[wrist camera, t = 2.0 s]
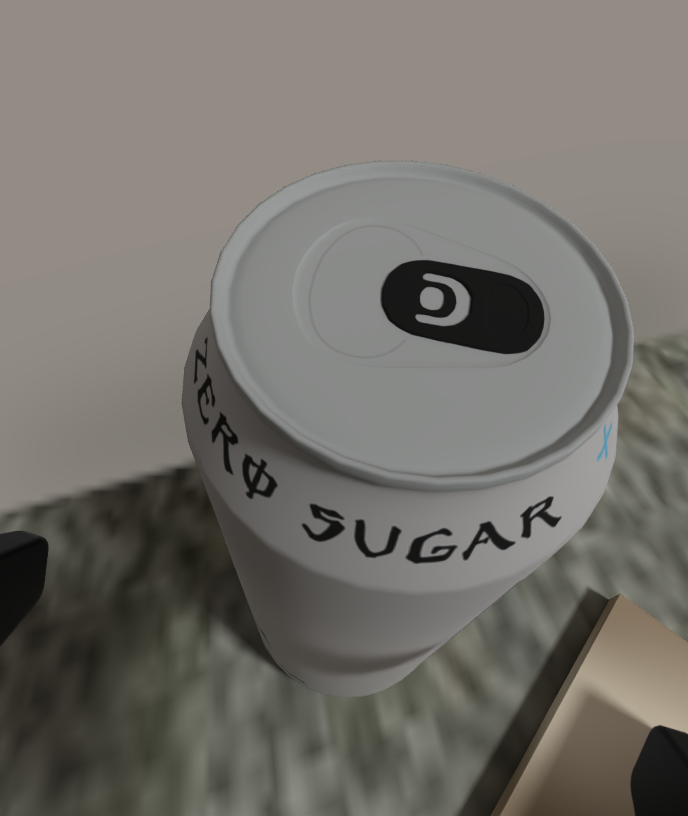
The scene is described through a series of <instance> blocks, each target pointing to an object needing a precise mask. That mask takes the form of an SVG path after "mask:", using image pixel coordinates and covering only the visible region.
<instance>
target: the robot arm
mask: <svg viewBox="0 0 688 816" xmlns="http://www.w3.org/2000/svg"><path fill="white" fill-rule="evenodd" d="M47 558H48V542H47V540H46V539H45V538H44V537H41V536H38V535H35V534H32V533H28V532H25V531H14V532H9V533H3V534H0V646H1V645H2V644H3V643H4V641H5V640H6V639H7V638H8V637H9V635H10V634H11V633H12V632H13V631H14V629H15V628H16V627H17V626H18V624H19V623H20V622H21V621H22V620H23V618H24V617H25V616H26V615H27V614H28V612H29V611H30V610H31V609H32V608H33V606H34V605H35V604H36V603H37V601H38V600H39V598H40V596H41V594H42V591H43V588H44V583H45V575H46V566H47ZM630 788H631V796H632V801H633V806H634V812H635V816H688V734H687V733H685V732H682V731H679V730H675V729H672V728H669V727H665V726H662V725H658V726H655V727H653V728H652V729H651V731H650V732H649V734H648V736H647V738H646V741H645V743H644V745H643V748H642V750H641V752H640V754H639V757H638V759H637V761H636V763H635V766H634V768H633V771H632V774H631V781H630Z"/></svg>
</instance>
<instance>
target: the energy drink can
mask: <svg viewBox="0 0 688 816" xmlns="http://www.w3.org/2000/svg"><path fill="white" fill-rule="evenodd" d="M633 345H634V330H633V325H632V320H631V315H630V310H629V306H628V301H627V299H626V296H625V294H624V293H623V290H622V288H621V286H620V283H619V281H618V279H617V277H616V275H615V272H614V271H613V269H612V268H611V267H610V265H609V264H608V263H607V261H606V260H605V258H604V257H603V256H602V254H601V253H600V251H599V250H598V249H597V247H596V246H595V245H594V244H593V243H592V242H591V241H590V240H589V239H588V238H587V237H586V236H585V235H584V234H583V233H582V232H581V231H580V230H579V229H578V228H577V227H576V226H575V225H574V224H573V223H572V222H571V221H569V220H568V219H567V218H565V217H564V216H562V215H561V214H560V213H558V212H557V211H556V210H554V209H553V208H551V207H550V206H549V205H547V204H546V203H544V202H543V201H541V200H539V199H537V198H535V197H534V196H531V195H530V194H528V193H526V192H524V191H522V190H520V189H518V188H516V187H515V186H513V185H510V184H508V183H505V182H502V181H500V180H497V179H494V178H492V177H489V176H486V175H483V174H481V173H477V172H473V171H469V170H465V169H461V168H457V167H453V166H448V165H443V164H434V163H425V162H418V161H374V162H366V163H359V164H351V165H344V166H341V167H337V168H333V169H330V170H326V171H322V172H319V173H315V174H312V175H310V176H308V177H306V178H303V179H301V180H299V181H297V182H294V183H292V184H290V185H288V186H285V187H284V188H282V189H281V190H279V191H278V192H277V193H275V194H273V195H272V196H270V197H269V198H267V199H266V200H264V201H263V202H261V203H260V204H259V205H258V206H257V207H256V208H255V209H254V210H253V211H252V212H251V213H250V214H249V215H248V216H247V217H246V218H245V219H244V220H243V221H242V222H241V223H240V224H239V225H238V226H237V227H236V229H235V230H234V232H233V234H232V235H231V237H230V239H229V240H228V242H227V243H226V245H225V246H224V248H223V250H222V251H221V253H220V256H219V259H218V262H217V265H216V269H215V272H214V275H213V278H212V281H211V297H210V309H209V310H208V312H207V314H206V315H205V317H204V319H203V320H202V322H201V324H200V325H199V327H198V329H197V331H196V333H195V336H194V339H193V342H192V346H191V348H190V351H189V355H188V358H187V361H186V364H185V367H184V380H183V394H182V408H183V414H184V420H185V426H186V431H187V437H188V442H189V445H190V448H191V450H192V453H193V456H194V459H195V461H196V464H197V467H198V469H199V472H200V475H201V477H202V480H203V483H204V486H205V488H206V491H207V494H208V496H209V499H210V502H211V504H212V507H213V510H214V512H215V515H216V518H217V521H218V523H219V526H220V529H221V531H222V534H223V537H224V539H225V542H226V545H227V548H228V550H229V553H230V556H231V558H232V561H233V564H234V566H235V569H236V572H237V574H238V577H239V580H240V583H241V585H242V588H243V591H244V593H245V596H246V599H247V601H248V604H249V607H250V610H251V612H252V615H253V618H254V620H255V623H256V626H257V628H258V631H259V633H260V636H261V638H262V641H263V643H264V645H265V648H266V649H267V651H268V652H269V653H270V655H271V656H272V658H273V659H274V661H275V662H276V664H277V665H278V666H279V667H280V668H281V669H282V670H283V671H284V672H286V673H287V674H288V675H289V676H290V677H291V678H292V679H294V680H295V681H297V682H299V683H300V684H302V685H303V686H305V687H307V688H309V689H311V690H314V691H317V692H320V693H322V694H325V695H330V696H338V697H346V698H347V697H358V696H367V695H370V694H373V693H376V692H379V691H382V690H385V689H387V688H388V687H390V686H392V685H394V684H395V683H397V682H399V681H400V680H402V679H403V678H404V677H406V676H407V675H408V674H409V673H411V672H412V671H413V670H414V669H415V668H417V667H418V666H419V665H420V664H421V663H423V662H424V661H425V660H426V659H427V658H429V657H430V656H431V655H432V654H434V653H435V652H436V651H437V650H438V649H440V648H441V647H442V646H443V645H444V644H446V643H447V642H448V641H449V640H451V639H452V638H453V637H454V636H455V635H457V634H458V633H459V632H460V631H461V630H463V629H464V628H465V627H466V626H468V625H469V624H470V623H471V622H472V621H474V620H475V619H476V618H477V617H478V616H480V615H481V614H482V613H483V612H484V611H486V610H487V609H488V608H489V607H491V606H492V605H493V604H494V603H495V602H497V601H498V600H499V599H500V598H501V597H503V596H504V595H505V594H506V593H508V592H509V591H510V590H511V589H512V588H514V587H515V586H516V585H517V584H518V583H520V582H521V581H522V580H523V579H525V578H526V577H527V576H528V575H529V574H531V573H532V572H533V571H534V570H535V569H537V568H538V567H539V566H540V565H541V564H543V563H544V562H545V561H546V560H548V559H549V558H550V557H551V556H552V555H553V554H554V553H555V552H557V551H558V550H559V549H560V548H561V547H562V546H563V545H564V544H565V543H566V542H567V541H568V540H569V539H570V538H571V537H573V536H574V535H575V534H576V533H577V532H578V531H579V530H580V529H581V528H582V527H583V525H584V524H585V522H586V521H587V519H588V518H589V516H590V515H591V513H592V511H593V510H594V508H595V507H596V505H597V504H598V502H599V500H600V499H601V497H602V496H603V494H604V492H605V489H606V485H607V482H608V479H609V476H610V473H611V470H612V467H613V464H614V461H615V457H616V442H617V427H618V409H617V404H618V402H619V401H620V399H621V398H622V395H623V392H624V389H625V386H626V383H627V380H628V377H629V374H630V371H631V368H632V364H633Z"/></svg>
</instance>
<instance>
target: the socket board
mask: <svg viewBox="0 0 688 816" xmlns="http://www.w3.org/2000/svg"><path fill="white" fill-rule="evenodd" d="M658 725H662V726H665V727H669V728H672V729H675V730H679V731H682V732H685V733H687V734H688V642H686V641H685V640H684V639H682V638H681V637H680V636H678V635H677V634H675V633H674V632H673V631H671V630H670V629H668V628H667V627H666V626H664V625H663V624H662V623H660V622H659V621H657V620H656V619H655V618H653V617H652V616H651V615H649V614H648V613H646V612H645V611H644V610H642V609H641V608H639V607H638V606H637V605H635V604H634V603H633V602H631V601H630V600H628V599H627V598H626V597H624V596H623V595H622V594H619V595H617V596H615V597H613V598H611V599H610V600H609V601H608V603H607V605H606V607H605V609H604V611H603V612H602V614H601V616H600V618H599V620H598V621H597V623H596V625H595V627H594V629H593V630H592V632H591V634H590V636H589V638H588V640H587V641H586V643H585V645H584V647H583V649H582V650H581V652H580V654H579V656H578V658H577V660H576V661H575V663H574V665H573V667H572V669H571V670H570V672H569V674H568V676H567V678H566V680H565V681H564V683H563V685H562V687H561V689H560V690H559V692H558V694H557V696H556V698H555V700H554V701H553V703H552V705H551V707H550V709H549V710H548V712H547V714H546V716H545V718H544V720H543V721H542V723H541V725H540V727H539V729H538V730H537V732H536V734H535V736H534V738H533V740H532V741H531V743H530V745H529V747H528V749H527V750H526V752H525V754H524V756H523V758H522V760H521V761H520V763H519V765H518V767H517V769H516V770H515V772H514V774H513V776H512V778H511V780H510V781H509V783H508V785H507V787H506V789H505V790H504V792H503V794H502V796H501V798H500V799H499V801H498V803H497V805H496V807H495V809H494V810H493V812H492V814H491V816H635V812H634V806H633V801H632V796H631V788H630V781H631V774H632V771H633V768H634V766H635V763H636V761H637V759H638V757H639V754H640V752H641V750H642V748H643V745H644V743H645V741H646V738H647V736H648V734H649V732H650V731H651V729H652V728H653V727H655V726H658Z"/></svg>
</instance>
